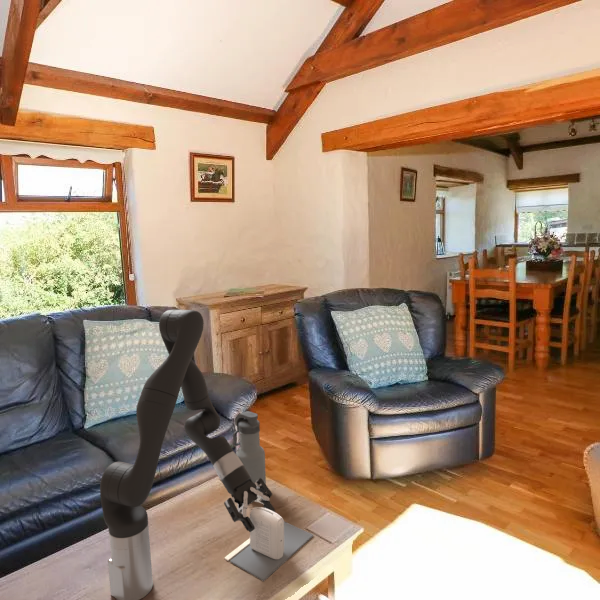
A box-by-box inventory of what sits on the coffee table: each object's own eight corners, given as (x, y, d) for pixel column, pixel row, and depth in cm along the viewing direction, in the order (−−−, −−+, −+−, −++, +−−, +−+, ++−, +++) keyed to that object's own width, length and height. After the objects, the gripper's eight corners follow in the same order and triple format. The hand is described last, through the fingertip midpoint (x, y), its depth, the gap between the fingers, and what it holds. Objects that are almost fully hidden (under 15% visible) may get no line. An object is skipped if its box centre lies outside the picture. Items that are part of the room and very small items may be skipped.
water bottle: (230, 492, 163) (227, 414, 159) (251, 480, 171) (248, 405, 166) (251, 503, 157) (248, 422, 152) (271, 490, 164) (269, 412, 160)
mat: (263, 581, 122) (263, 579, 122) (224, 559, 131) (224, 557, 131) (313, 536, 140) (313, 534, 140) (275, 518, 148) (275, 517, 148)
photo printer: (287, 553, 132) (285, 512, 130) (277, 562, 128) (276, 520, 126) (257, 540, 137) (256, 500, 136) (248, 548, 134) (246, 508, 132)
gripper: (219, 476, 130) (252, 530, 125) (255, 456, 141) (286, 504, 136) (207, 488, 134) (238, 541, 129) (242, 467, 145) (272, 515, 140)
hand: (263, 522), depth 133 cm, fingers open, 8 cm apart
